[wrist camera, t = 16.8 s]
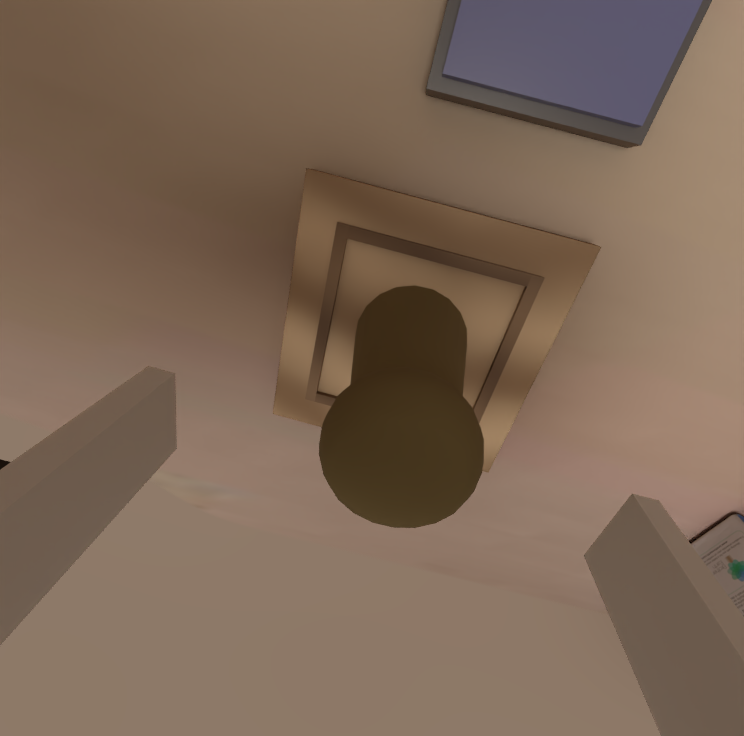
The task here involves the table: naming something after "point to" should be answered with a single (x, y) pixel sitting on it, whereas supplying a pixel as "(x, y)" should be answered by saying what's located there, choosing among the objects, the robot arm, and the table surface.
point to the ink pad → (565, 61)
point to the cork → (404, 414)
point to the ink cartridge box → (725, 556)
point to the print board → (430, 270)
